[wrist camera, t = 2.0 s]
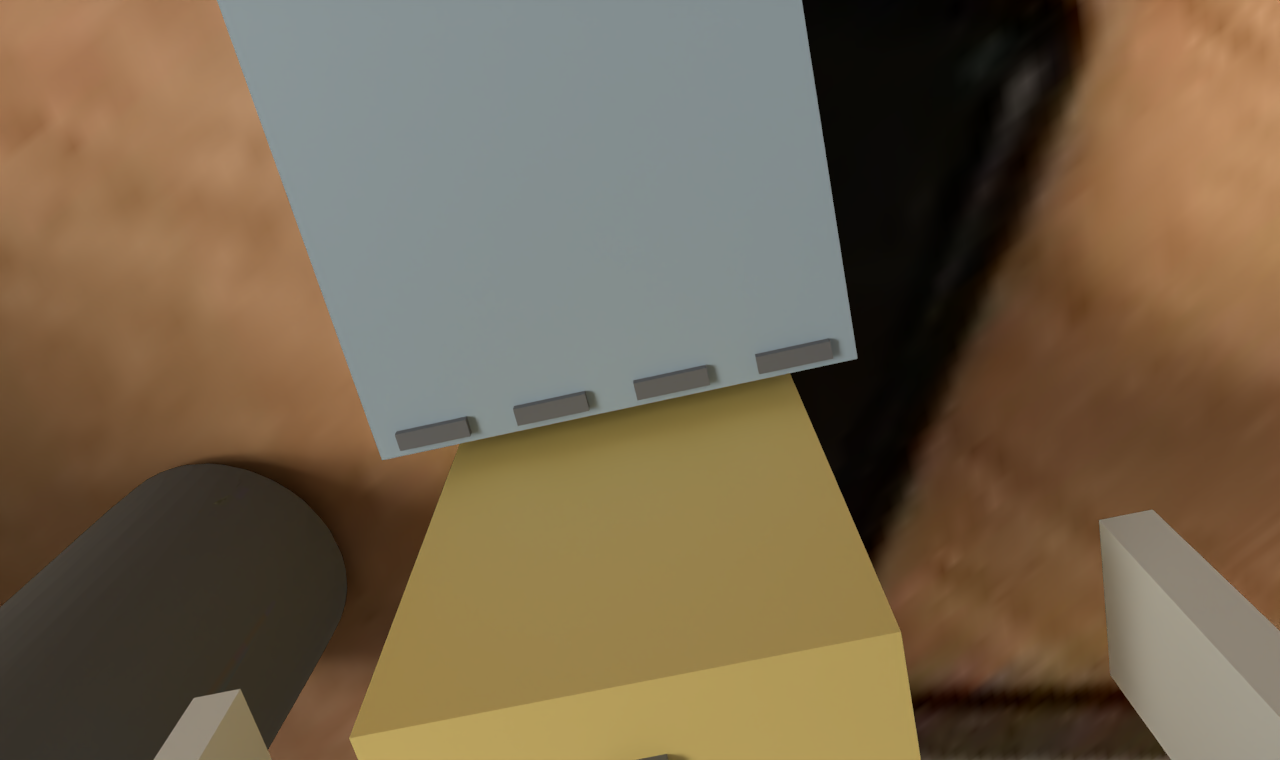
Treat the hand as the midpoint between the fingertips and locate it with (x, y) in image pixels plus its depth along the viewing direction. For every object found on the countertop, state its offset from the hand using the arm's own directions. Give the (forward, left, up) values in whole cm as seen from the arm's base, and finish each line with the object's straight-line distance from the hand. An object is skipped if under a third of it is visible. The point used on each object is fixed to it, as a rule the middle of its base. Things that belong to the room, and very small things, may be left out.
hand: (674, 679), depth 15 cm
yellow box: (0, 0, -9) cm, 9 cm away
